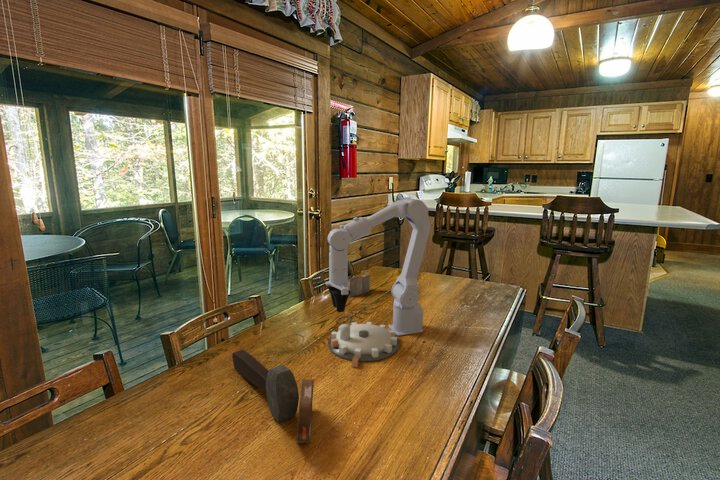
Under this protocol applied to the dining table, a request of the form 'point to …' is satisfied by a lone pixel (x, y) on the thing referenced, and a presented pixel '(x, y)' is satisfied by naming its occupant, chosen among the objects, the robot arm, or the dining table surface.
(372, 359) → the wheel base
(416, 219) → the robot arm
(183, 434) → the dining table surface
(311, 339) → the dining table surface
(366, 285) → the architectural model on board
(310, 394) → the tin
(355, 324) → the sprocket wheel
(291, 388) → the hammer
